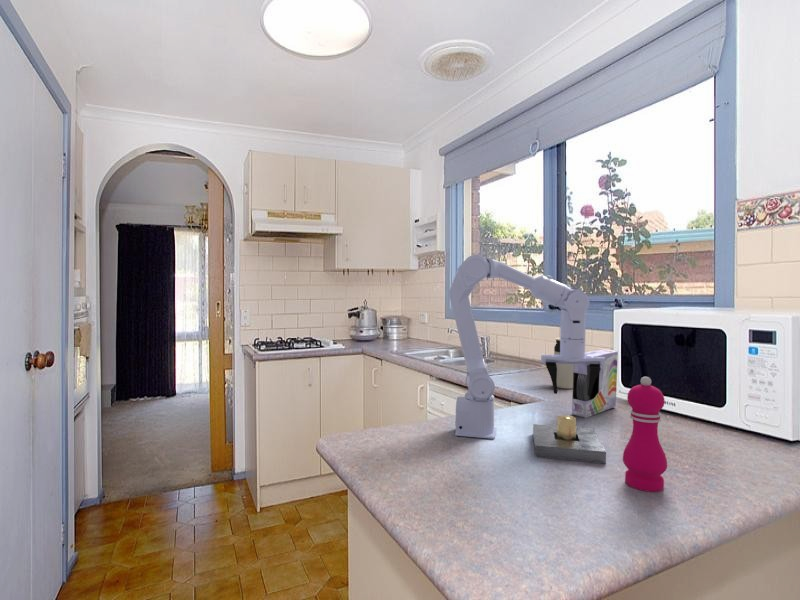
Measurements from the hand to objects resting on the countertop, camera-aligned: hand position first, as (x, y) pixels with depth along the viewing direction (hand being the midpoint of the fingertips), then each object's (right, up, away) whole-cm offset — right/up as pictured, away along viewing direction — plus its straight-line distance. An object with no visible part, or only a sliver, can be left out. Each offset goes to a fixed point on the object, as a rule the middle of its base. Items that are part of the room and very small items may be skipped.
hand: (571, 393), depth 111 cm
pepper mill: (+3, -11, -27) cm, 30 cm away
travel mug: (+19, -9, +57) cm, 61 cm away
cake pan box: (+15, -10, +23) cm, 30 cm away
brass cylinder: (-4, -11, -8) cm, 14 cm away
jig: (-4, -11, -8) cm, 14 cm away
